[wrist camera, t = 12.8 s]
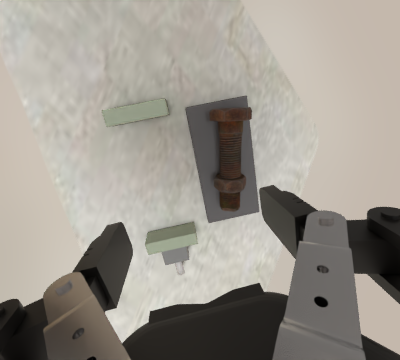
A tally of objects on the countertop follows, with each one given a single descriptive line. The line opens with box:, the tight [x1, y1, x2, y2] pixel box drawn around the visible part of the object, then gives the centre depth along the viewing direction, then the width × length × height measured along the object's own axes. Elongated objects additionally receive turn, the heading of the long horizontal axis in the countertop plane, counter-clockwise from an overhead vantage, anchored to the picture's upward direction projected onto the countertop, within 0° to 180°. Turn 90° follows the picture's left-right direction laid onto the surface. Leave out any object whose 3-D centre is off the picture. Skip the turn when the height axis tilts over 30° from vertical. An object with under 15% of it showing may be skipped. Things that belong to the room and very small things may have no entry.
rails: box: [102, 98, 198, 275], centre depth 32 cm, size 28×8×4 cm, turn 11°
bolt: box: [209, 107, 252, 212], centre depth 30 cm, size 6×5×15 cm
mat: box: [186, 96, 259, 223], centre depth 32 cm, size 19×9×1 cm, turn 11°
